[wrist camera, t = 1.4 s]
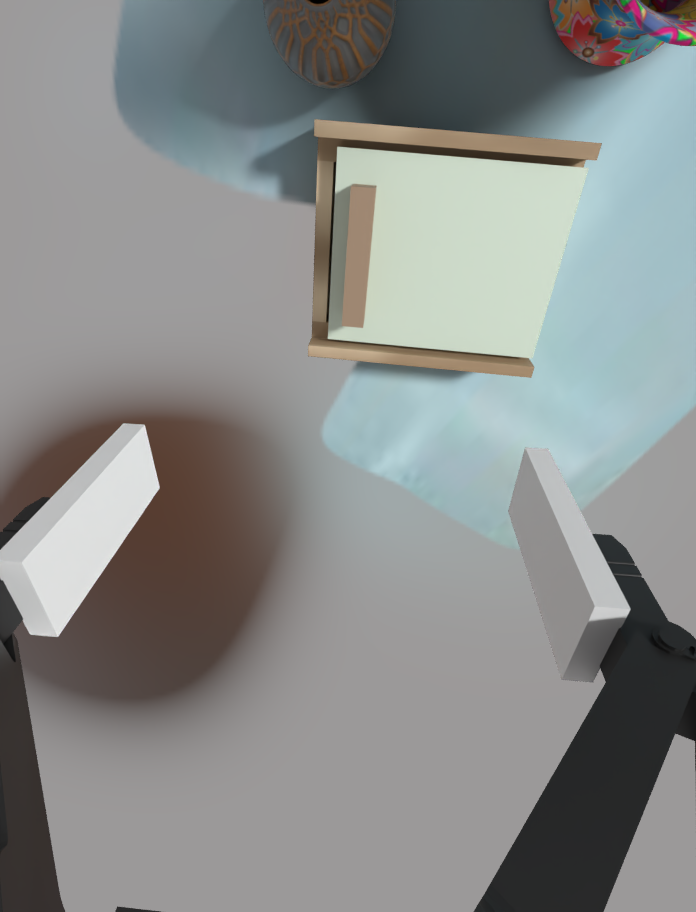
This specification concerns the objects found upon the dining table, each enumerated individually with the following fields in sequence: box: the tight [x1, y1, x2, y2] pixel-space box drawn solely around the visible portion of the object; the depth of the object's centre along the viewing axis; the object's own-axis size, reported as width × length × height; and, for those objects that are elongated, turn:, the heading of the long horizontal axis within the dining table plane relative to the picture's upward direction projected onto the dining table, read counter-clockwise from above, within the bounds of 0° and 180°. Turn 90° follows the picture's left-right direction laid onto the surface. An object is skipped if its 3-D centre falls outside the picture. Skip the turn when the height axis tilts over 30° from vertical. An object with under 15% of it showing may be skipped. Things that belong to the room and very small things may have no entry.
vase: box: [263, 0, 396, 88], centre depth 25 cm, size 7×7×9 cm
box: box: [308, 119, 602, 378], centre depth 32 cm, size 14×16×5 cm
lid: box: [328, 147, 589, 358], centre depth 30 cm, size 12×15×4 cm
